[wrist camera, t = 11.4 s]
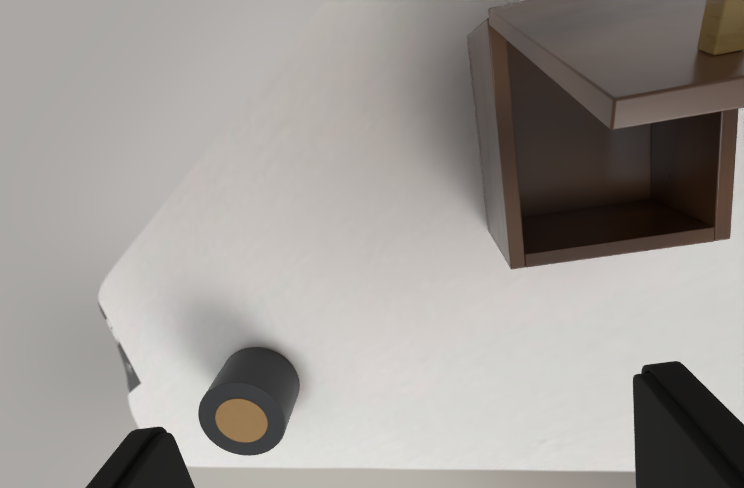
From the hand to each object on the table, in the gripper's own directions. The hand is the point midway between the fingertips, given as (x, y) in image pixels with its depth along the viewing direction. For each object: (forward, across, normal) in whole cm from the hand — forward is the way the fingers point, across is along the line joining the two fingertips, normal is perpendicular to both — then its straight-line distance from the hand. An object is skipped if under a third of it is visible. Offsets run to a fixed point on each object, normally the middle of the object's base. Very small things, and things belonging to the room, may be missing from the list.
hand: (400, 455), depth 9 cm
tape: (+24, +14, +13) cm, 30 cm away
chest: (+23, -11, -3) cm, 26 cm away
